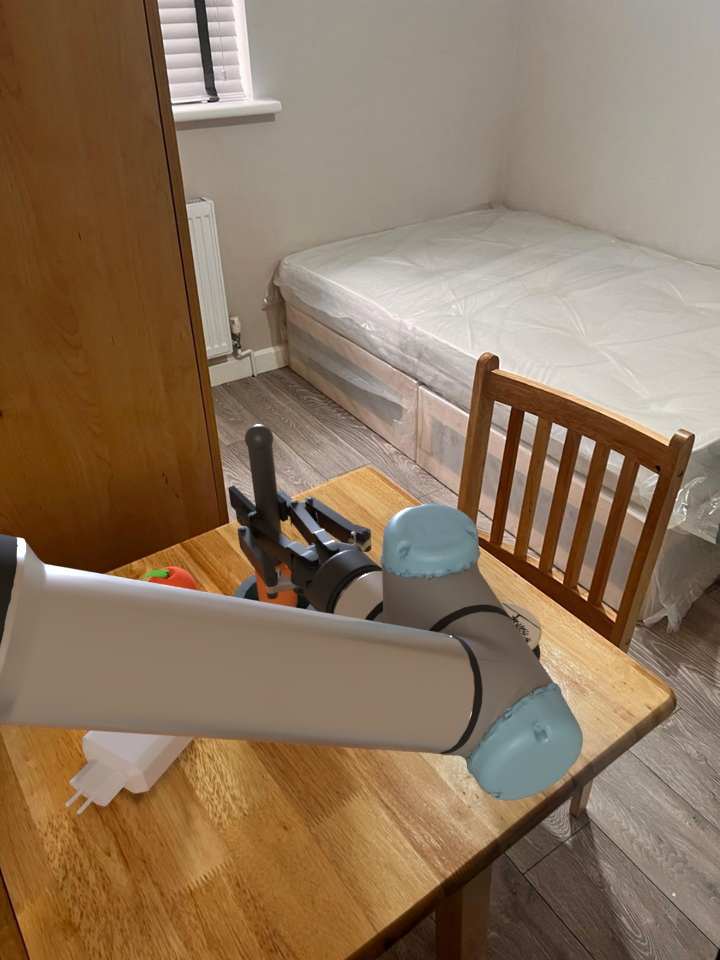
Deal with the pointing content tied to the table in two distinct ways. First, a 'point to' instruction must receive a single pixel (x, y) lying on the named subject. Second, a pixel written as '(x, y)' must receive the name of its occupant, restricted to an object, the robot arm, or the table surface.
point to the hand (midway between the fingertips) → (244, 490)
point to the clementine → (172, 577)
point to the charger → (123, 764)
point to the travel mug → (525, 625)
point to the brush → (267, 501)
